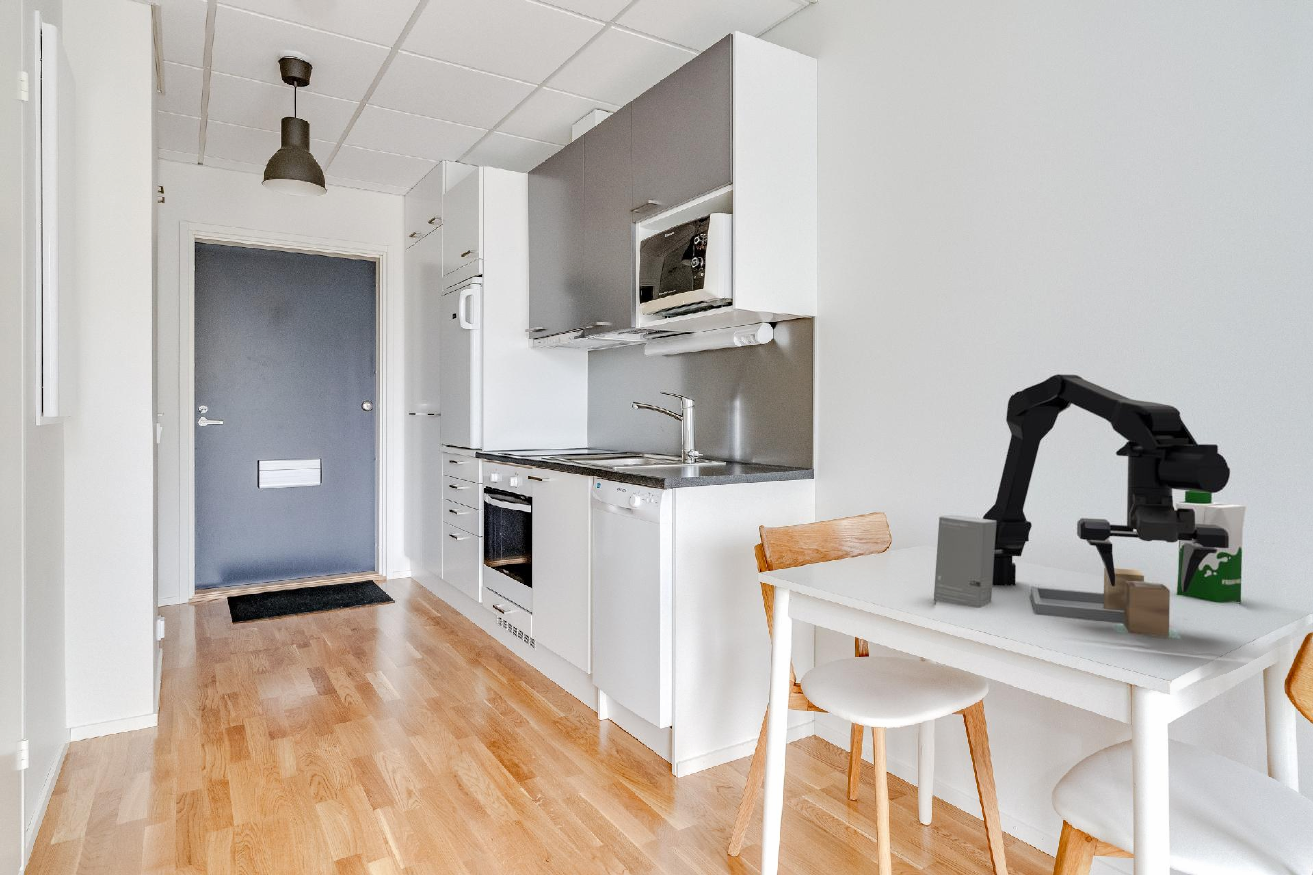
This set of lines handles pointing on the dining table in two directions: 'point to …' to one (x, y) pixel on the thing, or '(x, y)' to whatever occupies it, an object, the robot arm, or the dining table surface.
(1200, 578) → the milk carton
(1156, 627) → the walnut box
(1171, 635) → the teal pad
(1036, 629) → the dining table surface
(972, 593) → the skincare box
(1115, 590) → the oak box
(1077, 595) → the tray
